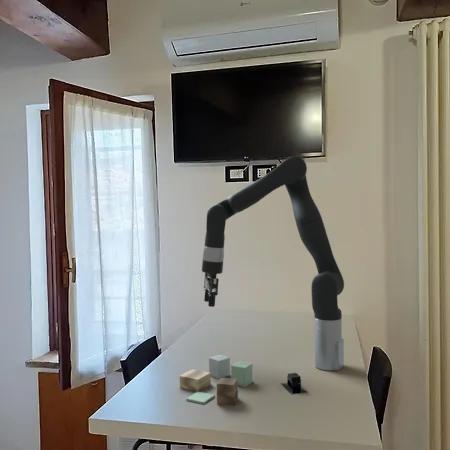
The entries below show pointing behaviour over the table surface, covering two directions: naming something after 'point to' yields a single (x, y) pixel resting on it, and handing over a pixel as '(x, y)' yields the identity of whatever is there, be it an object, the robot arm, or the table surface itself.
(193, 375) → the maple base
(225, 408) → the table surface
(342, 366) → the robot arm
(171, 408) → the table surface
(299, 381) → the black piece
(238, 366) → the green block
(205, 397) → the tile
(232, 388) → the walnut block
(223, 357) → the grey block
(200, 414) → the table surface
